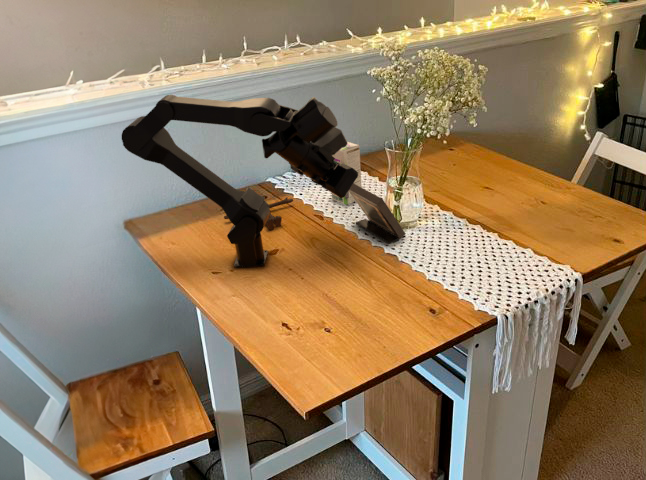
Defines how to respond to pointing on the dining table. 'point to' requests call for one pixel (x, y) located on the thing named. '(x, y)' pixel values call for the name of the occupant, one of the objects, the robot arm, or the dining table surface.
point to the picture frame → (376, 210)
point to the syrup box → (352, 159)
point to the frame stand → (377, 231)
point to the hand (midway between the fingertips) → (348, 189)
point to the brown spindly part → (272, 219)
